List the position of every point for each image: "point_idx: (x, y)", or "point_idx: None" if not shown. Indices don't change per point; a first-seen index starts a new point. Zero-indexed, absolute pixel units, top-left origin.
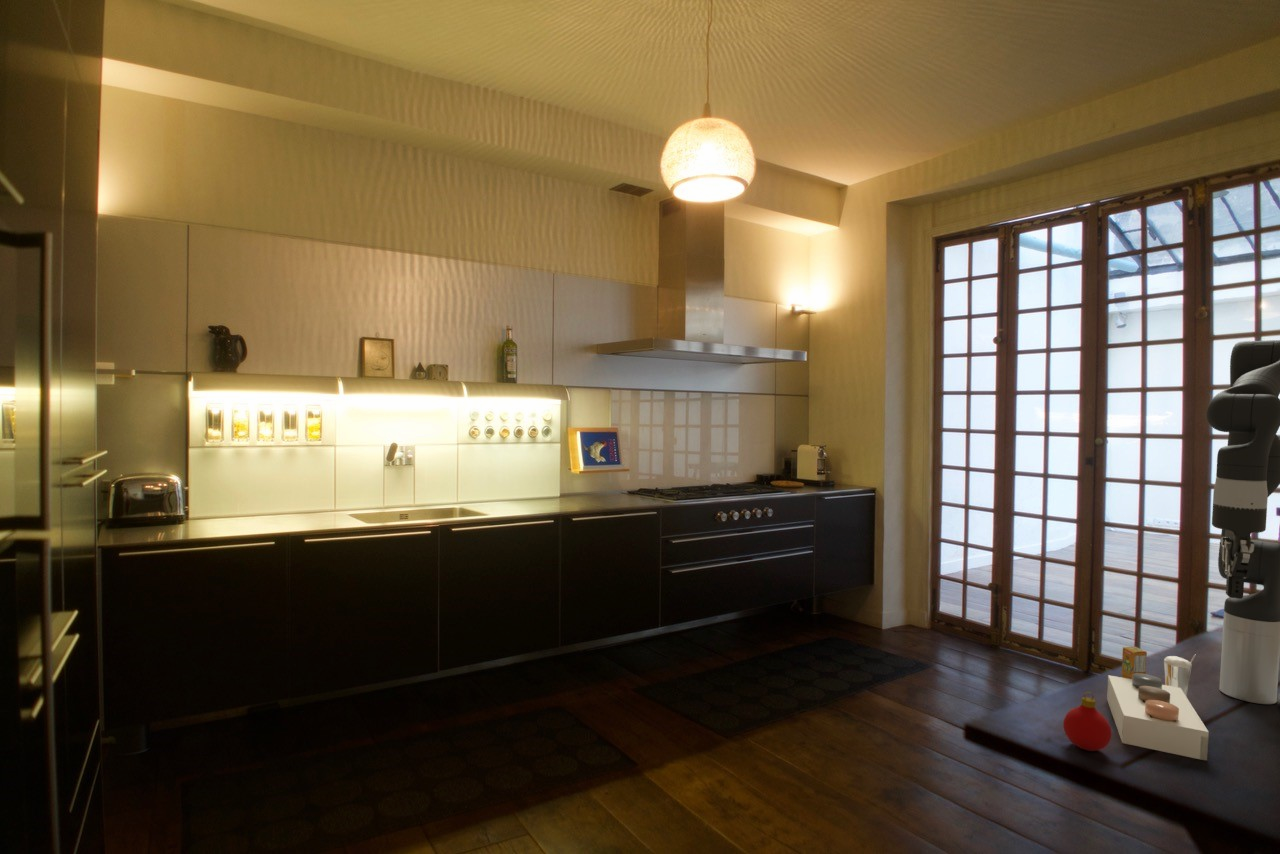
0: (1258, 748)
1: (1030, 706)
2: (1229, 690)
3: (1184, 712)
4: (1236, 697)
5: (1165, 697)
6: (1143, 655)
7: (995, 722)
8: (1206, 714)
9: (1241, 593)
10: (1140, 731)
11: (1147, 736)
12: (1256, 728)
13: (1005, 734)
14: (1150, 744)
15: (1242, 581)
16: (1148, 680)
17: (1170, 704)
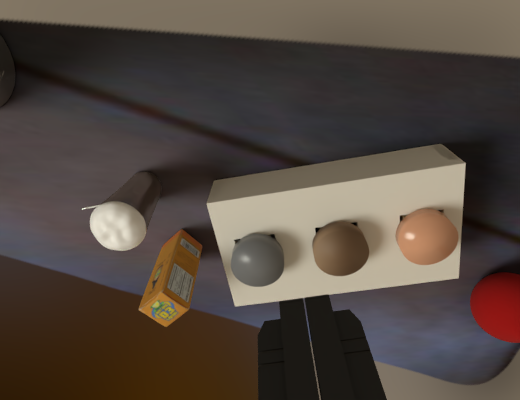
0: (311, 60)
1: None
2: (1, 99)
3: (371, 198)
4: (13, 83)
5: (361, 236)
6: (171, 290)
7: (458, 372)
8: (179, 138)
9: (360, 322)
10: None
11: None
12: (187, 56)
13: (495, 359)
14: None
15: (351, 390)
16: (274, 263)
17: (411, 230)
